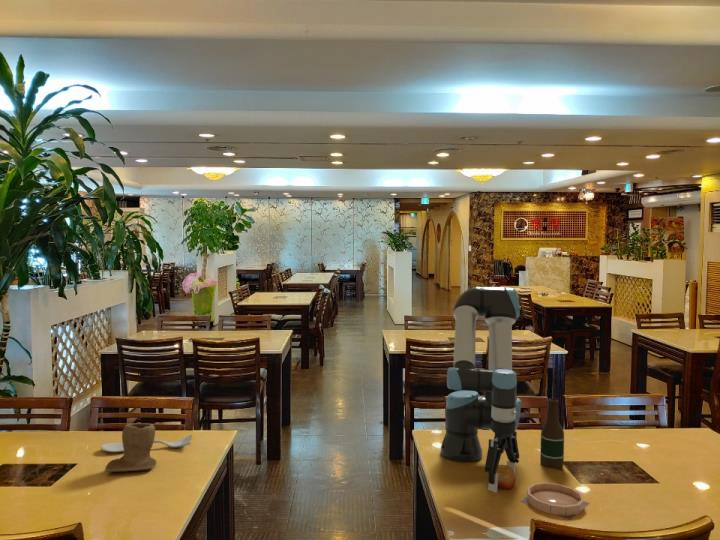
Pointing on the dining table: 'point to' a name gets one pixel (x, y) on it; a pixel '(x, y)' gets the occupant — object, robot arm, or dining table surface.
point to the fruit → (505, 477)
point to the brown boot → (135, 449)
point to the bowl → (555, 499)
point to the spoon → (178, 443)
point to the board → (558, 515)
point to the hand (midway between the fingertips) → (501, 487)
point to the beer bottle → (552, 439)
